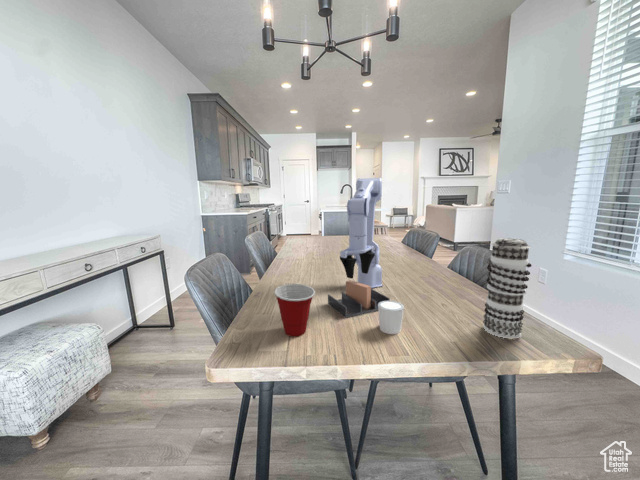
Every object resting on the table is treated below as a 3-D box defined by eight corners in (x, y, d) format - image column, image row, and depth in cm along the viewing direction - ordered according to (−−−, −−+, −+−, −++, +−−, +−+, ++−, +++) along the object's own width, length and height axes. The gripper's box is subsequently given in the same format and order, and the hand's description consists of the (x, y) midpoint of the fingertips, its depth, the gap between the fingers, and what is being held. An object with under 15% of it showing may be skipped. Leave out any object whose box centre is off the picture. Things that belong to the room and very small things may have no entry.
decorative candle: (496, 320, 75) (504, 235, 71) (531, 336, 67) (543, 240, 63) (473, 326, 72) (480, 238, 68) (507, 343, 63) (518, 243, 60)
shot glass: (403, 325, 73) (404, 301, 72) (402, 337, 67) (403, 311, 66) (378, 321, 76) (379, 298, 74) (375, 333, 69) (376, 308, 68)
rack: (368, 296, 96) (368, 287, 95) (389, 308, 85) (389, 298, 84) (328, 303, 89) (327, 294, 88) (345, 318, 78) (345, 307, 77)
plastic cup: (300, 347, 63) (299, 300, 61) (267, 335, 69) (265, 292, 67) (323, 328, 72) (322, 287, 70) (292, 319, 78) (291, 281, 76)
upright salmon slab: (349, 299, 91) (349, 280, 89) (370, 306, 84) (370, 286, 83) (345, 300, 89) (345, 281, 88) (366, 308, 83) (367, 287, 82)
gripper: (362, 232, 92) (362, 268, 94) (333, 236, 82) (333, 277, 85) (379, 233, 87) (378, 272, 89) (349, 238, 77) (349, 282, 79)
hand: (357, 275), depth 86 cm, fingers open, 7 cm apart
